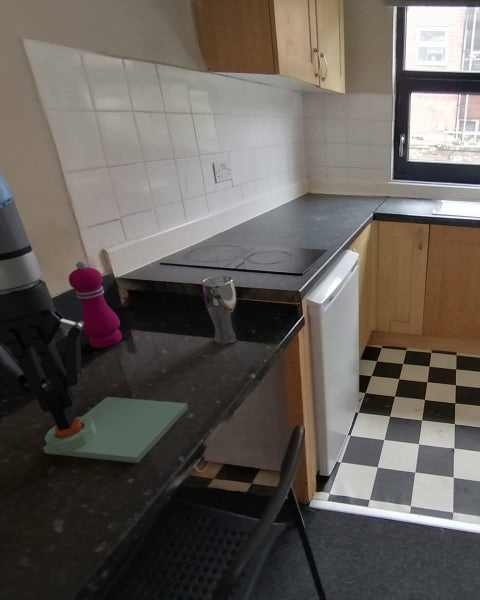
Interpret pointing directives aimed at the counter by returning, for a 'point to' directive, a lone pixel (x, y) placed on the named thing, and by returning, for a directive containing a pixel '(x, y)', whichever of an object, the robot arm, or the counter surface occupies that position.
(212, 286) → the beer glass
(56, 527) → the counter surface
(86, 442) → the scale
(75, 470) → the counter surface
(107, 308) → the pepper mill
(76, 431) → the power button
